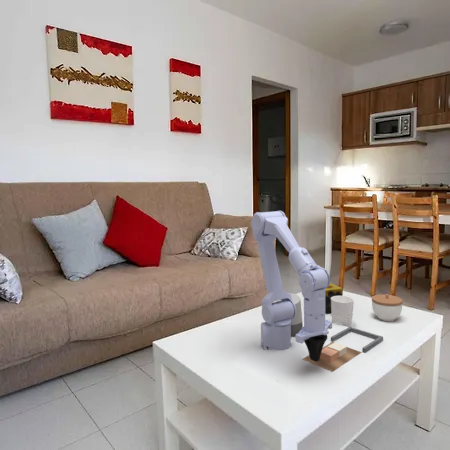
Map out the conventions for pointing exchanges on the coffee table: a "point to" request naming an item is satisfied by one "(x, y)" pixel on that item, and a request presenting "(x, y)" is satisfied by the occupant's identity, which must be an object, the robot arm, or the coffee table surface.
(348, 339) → the coffee table surface
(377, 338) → the tray
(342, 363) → the brown wooden board
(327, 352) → the terracotta tile
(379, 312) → the lidded jar
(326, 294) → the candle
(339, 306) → the white cup
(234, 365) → the coffee table surface
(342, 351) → the cream tile
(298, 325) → the smart speaker
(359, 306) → the coffee table surface
